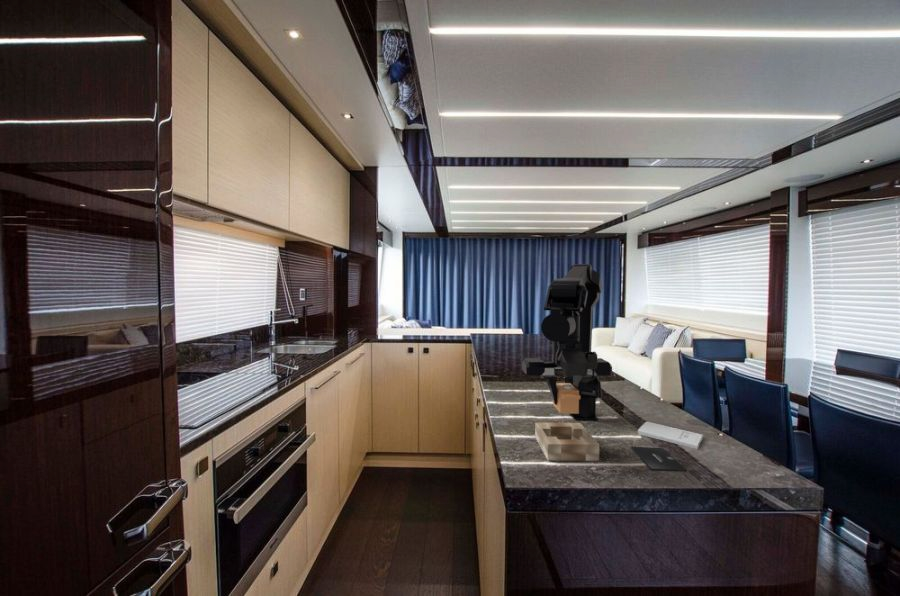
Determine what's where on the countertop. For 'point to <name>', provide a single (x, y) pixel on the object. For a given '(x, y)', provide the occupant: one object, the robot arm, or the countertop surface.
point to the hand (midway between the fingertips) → (565, 404)
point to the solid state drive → (658, 459)
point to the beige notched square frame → (566, 442)
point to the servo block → (567, 398)
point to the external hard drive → (671, 434)
